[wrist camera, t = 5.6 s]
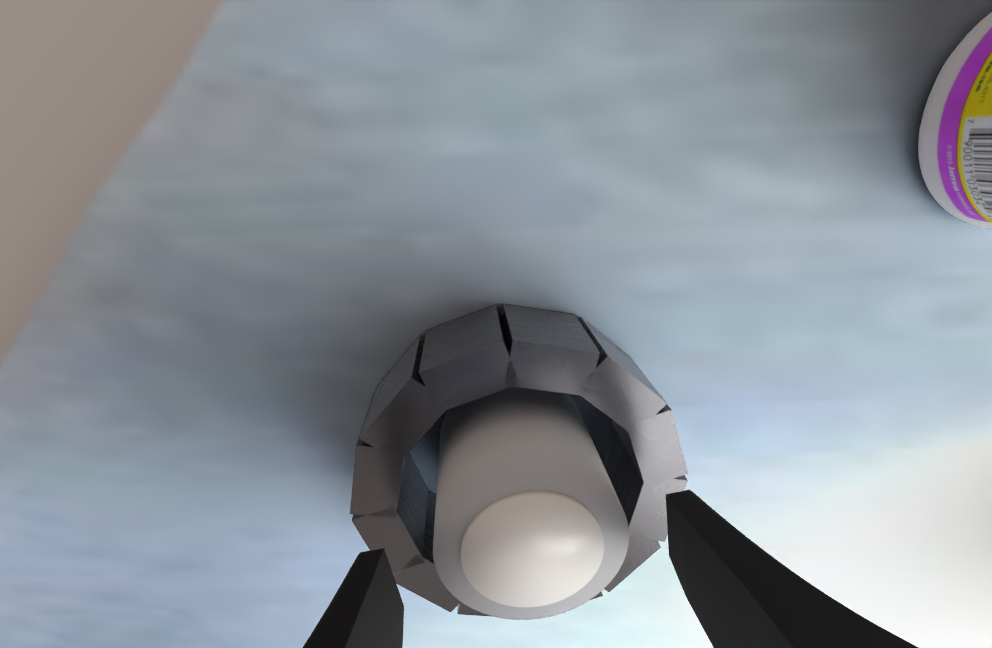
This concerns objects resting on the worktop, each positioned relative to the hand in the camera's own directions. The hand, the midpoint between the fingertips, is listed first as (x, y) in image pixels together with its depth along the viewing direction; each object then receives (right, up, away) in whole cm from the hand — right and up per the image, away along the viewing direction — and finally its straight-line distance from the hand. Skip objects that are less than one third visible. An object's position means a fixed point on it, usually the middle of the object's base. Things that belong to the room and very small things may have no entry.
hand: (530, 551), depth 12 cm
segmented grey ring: (0, +2, +5) cm, 5 cm away
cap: (0, +2, +5) cm, 5 cm away
